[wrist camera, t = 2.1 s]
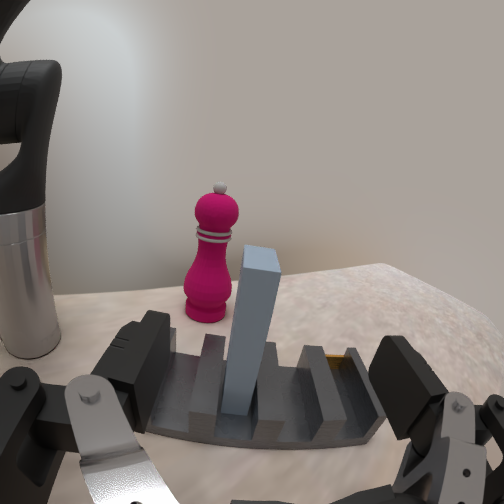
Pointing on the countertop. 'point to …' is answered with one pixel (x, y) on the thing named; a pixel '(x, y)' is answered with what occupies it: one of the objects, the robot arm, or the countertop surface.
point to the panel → (249, 326)
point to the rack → (268, 400)
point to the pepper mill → (211, 257)
